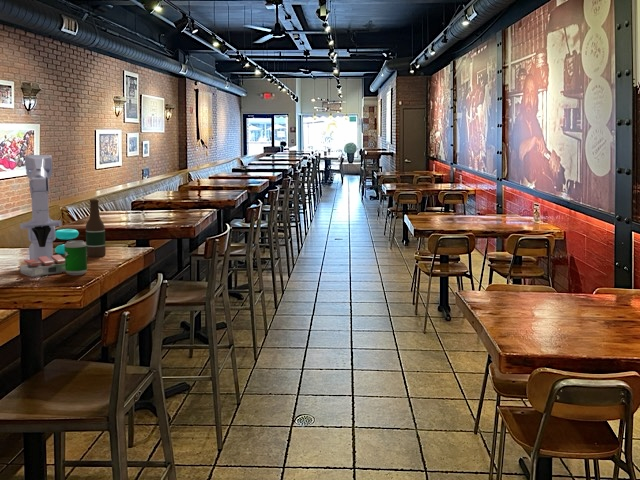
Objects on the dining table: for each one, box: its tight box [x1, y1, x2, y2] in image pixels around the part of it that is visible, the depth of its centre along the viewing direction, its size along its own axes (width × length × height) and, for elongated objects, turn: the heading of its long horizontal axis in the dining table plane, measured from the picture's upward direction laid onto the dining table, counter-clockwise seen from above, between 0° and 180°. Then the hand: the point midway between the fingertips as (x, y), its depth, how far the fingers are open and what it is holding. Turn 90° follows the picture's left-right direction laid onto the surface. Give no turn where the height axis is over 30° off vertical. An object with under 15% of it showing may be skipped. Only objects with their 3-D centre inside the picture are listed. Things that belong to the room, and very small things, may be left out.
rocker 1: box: [23, 259, 41, 266], centre depth 238 cm, size 6×3×1 cm, turn 49°
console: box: [19, 260, 66, 278], centre depth 242 cm, size 9×15×4 cm, turn 139°
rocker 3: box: [51, 254, 65, 263], centre depth 246 cm, size 6×3×1 cm, turn 50°
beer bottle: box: [85, 198, 107, 258], centre depth 277 cm, size 8×8×24 cm
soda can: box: [64, 239, 88, 276], centre depth 240 cm, size 8×8×12 cm
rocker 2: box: [38, 256, 54, 265], centre depth 242 cm, size 6×3×1 cm, turn 50°
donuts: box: [54, 228, 80, 255], centre depth 284 cm, size 10×10×10 cm
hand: (42, 246), depth 243 cm, fingers closed
